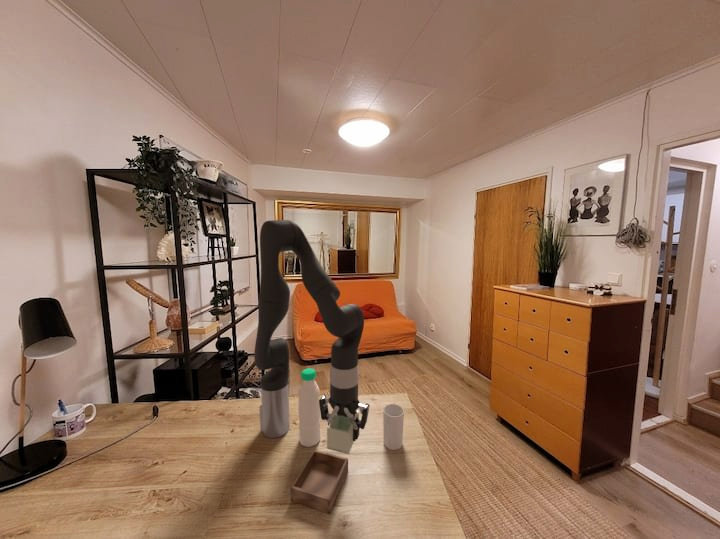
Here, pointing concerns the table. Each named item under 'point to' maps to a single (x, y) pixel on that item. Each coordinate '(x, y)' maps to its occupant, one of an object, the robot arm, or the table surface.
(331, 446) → the sage crate
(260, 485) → the table surface
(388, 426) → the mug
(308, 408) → the water bottle
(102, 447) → the table surface
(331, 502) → the walnut crate
